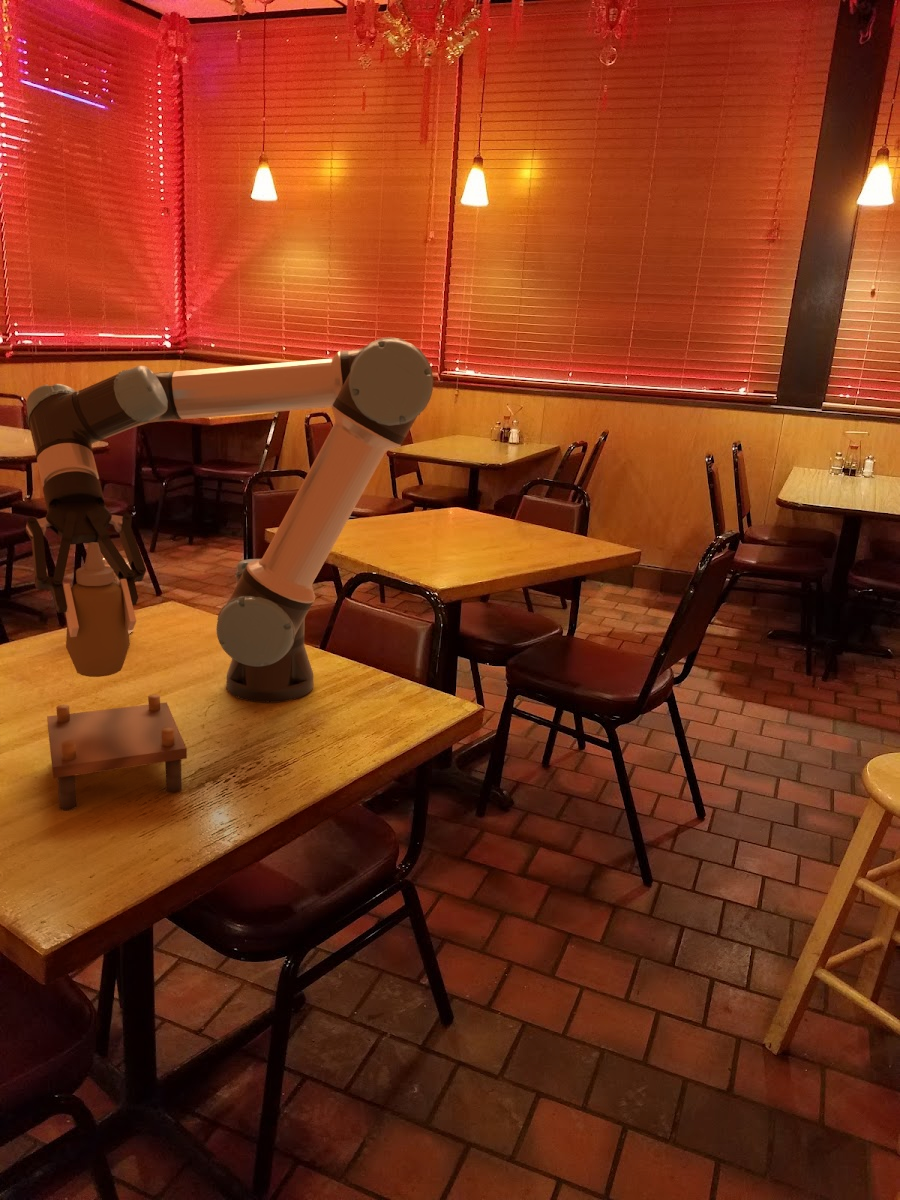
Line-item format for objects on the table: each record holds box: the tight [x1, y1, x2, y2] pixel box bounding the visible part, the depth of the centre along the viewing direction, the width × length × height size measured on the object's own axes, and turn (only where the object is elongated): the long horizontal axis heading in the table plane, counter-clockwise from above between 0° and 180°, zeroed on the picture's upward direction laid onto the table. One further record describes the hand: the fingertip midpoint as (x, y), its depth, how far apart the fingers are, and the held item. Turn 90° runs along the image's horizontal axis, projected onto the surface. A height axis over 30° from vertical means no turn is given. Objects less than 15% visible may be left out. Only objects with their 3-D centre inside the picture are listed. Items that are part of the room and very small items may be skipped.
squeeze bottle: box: [65, 542, 131, 678], centre depth 113 cm, size 8×8×18 cm
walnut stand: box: [46, 693, 188, 811], centre depth 114 cm, size 16×16×8 cm
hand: (103, 628), depth 110 cm, fingers closed on squeeze bottle, 6 cm apart
